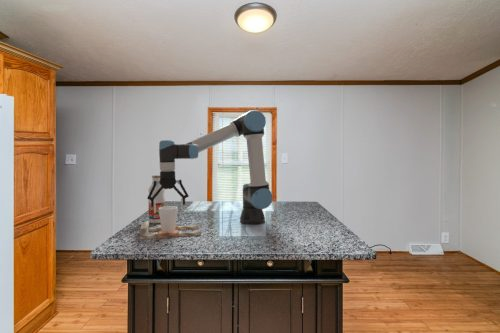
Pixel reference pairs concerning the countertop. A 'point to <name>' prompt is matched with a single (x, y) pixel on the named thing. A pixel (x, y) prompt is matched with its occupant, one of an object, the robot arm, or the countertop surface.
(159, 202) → the fruit juice
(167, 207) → the foam cup
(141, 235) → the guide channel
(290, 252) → the countertop surface
